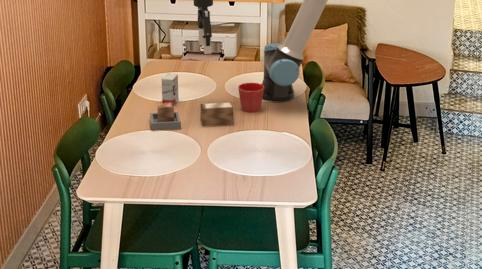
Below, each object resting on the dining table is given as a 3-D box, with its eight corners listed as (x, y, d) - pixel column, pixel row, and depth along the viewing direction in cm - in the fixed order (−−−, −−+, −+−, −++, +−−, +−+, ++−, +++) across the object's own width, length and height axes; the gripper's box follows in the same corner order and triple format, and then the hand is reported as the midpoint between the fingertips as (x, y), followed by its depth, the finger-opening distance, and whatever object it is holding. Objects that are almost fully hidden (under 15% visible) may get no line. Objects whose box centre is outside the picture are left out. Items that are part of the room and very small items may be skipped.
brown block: (173, 119, 269) (172, 102, 266) (174, 124, 264) (173, 106, 261) (157, 120, 268) (157, 102, 265) (158, 125, 263) (158, 107, 260)
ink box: (173, 106, 284) (172, 79, 280) (161, 105, 285) (160, 78, 281) (179, 99, 292) (178, 73, 288) (167, 99, 293) (167, 72, 288)
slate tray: (178, 118, 272) (177, 111, 271) (180, 128, 262) (180, 122, 261) (150, 119, 270) (149, 113, 269) (151, 130, 260) (151, 123, 259)
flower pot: (234, 111, 280) (234, 89, 276) (243, 103, 290) (243, 81, 286) (258, 115, 277) (259, 92, 273) (267, 106, 286) (267, 84, 282)
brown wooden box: (230, 118, 272) (230, 101, 270) (233, 124, 267) (233, 107, 264) (200, 120, 270) (200, 103, 268) (202, 126, 265) (202, 108, 262)
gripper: (188, -10, 276) (191, 41, 284) (198, 2, 253) (200, 58, 261) (207, -12, 277) (209, 40, 285) (218, 1, 254) (220, 56, 263)
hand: (205, 49), depth 273 cm, fingers open, 13 cm apart
